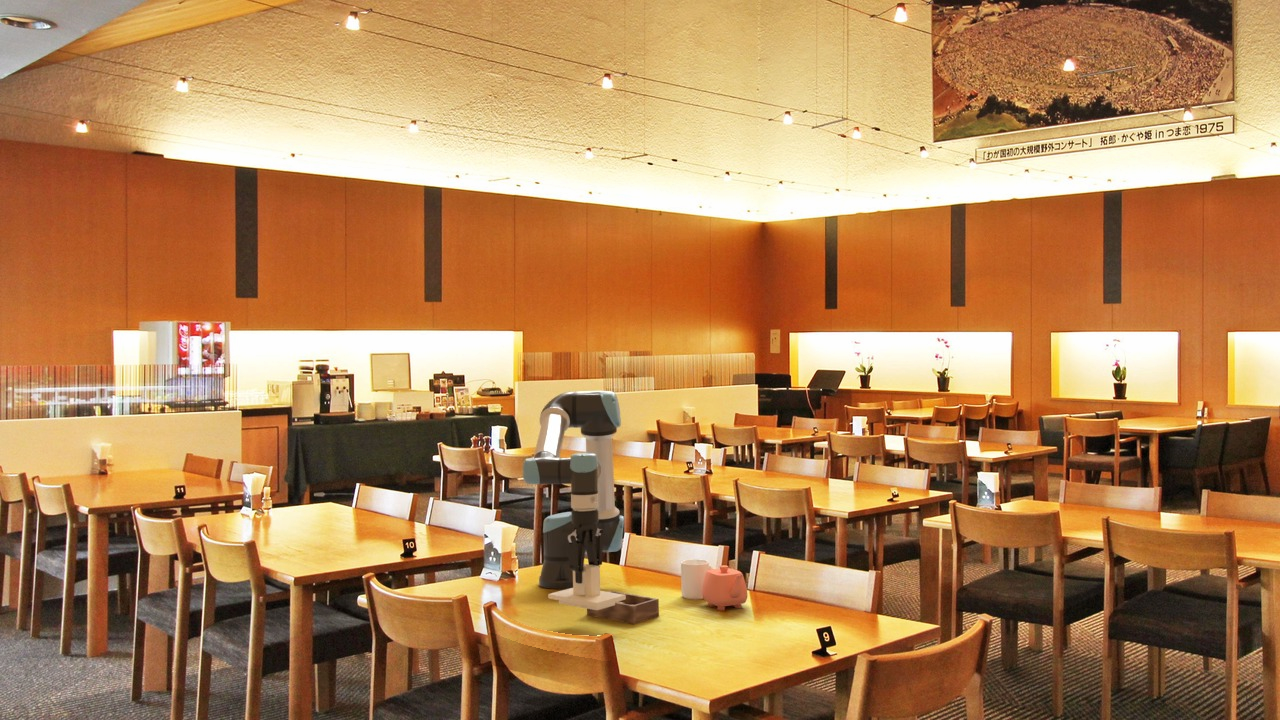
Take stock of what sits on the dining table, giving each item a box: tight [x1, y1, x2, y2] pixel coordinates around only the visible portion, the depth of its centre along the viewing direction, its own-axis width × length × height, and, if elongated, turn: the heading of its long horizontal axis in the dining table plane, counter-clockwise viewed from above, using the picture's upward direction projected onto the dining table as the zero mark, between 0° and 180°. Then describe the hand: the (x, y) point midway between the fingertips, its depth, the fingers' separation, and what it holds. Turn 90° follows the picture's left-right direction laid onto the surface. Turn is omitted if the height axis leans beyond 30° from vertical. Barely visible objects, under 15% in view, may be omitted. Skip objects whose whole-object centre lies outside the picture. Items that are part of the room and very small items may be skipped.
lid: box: [547, 563, 626, 610], centre depth 296 cm, size 19×12×11 cm, turn 50°
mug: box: [680, 558, 714, 600], centre depth 331 cm, size 9×12×11 cm
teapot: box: [702, 564, 748, 612], centre depth 316 cm, size 20×12×12 cm, turn 25°
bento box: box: [586, 590, 660, 625], centre depth 307 cm, size 18×11×5 cm, turn 50°
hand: (586, 593), depth 296 cm, fingers closed on lid, 3 cm apart
